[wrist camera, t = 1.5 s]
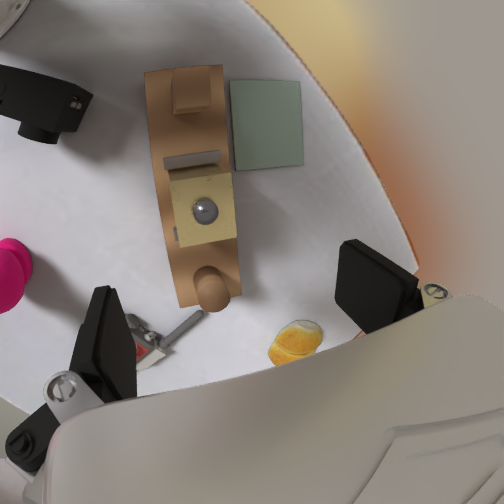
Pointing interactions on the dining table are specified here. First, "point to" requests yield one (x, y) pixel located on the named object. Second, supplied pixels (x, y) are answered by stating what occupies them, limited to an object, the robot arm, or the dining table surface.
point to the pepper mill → (13, 272)
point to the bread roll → (295, 342)
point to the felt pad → (266, 123)
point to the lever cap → (203, 204)
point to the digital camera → (41, 103)
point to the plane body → (187, 156)
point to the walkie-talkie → (149, 346)
